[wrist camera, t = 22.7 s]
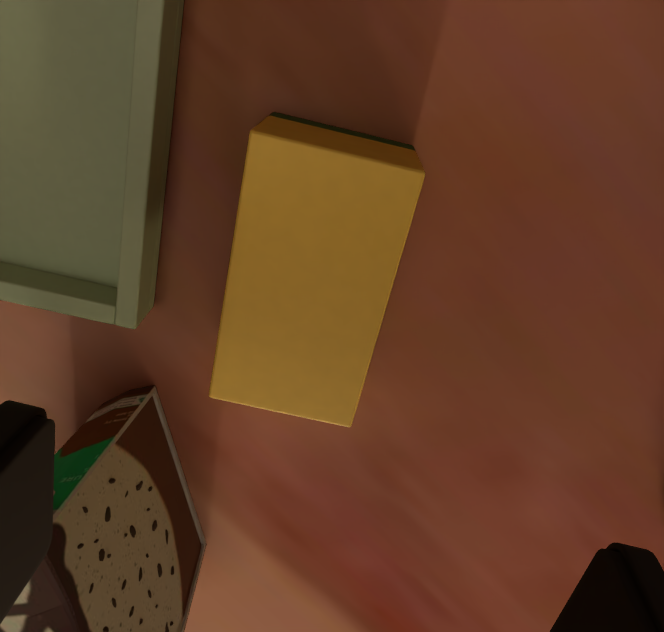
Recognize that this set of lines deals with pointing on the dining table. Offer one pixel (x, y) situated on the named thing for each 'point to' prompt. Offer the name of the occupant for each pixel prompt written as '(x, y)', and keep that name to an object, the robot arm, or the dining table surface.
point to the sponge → (312, 266)
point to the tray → (85, 152)
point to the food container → (116, 529)
